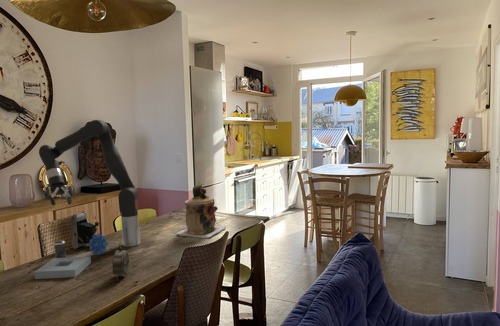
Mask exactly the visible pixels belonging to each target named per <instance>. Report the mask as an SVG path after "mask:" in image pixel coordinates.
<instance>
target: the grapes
mask: <svg viewBox="0 0 500 326" xmlns="http://www.w3.org/2000/svg"><path fill="white" fill-rule="evenodd" d="M89 243H90V244H89V250H90V251H92V252H91V253H92V255H97V256H101V255H102V254H103V253H105V252H106V251H107V247H108V244H109V242H108V241H107V236H105V235H103V234H102V233H98V234H94V235H93V237H92V239H91V240H90V242H89Z"/></svg>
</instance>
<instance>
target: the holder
mask: <svg viewBox="0 0 500 326" xmlns="http://www.w3.org/2000/svg"><path fill="white" fill-rule="evenodd" d="M91 263H92V259H91V256H73V257H72V256H71V257H66V258H56V257H54V258H52V259H50V260H49V261H48V262H46V263H45V264H44V265H42V266H40V267H39V268H38V269H36V270H35V271H34V272H33V274H34V279H35V280H42V279H63V278H64V279H65V278H76V277H77V276H78V275H79V274H80V273H81V272H83V271H84V270H85V269H86V268H87V267H89V266H90V265H91Z"/></svg>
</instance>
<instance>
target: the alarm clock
mask: <svg viewBox="0 0 500 326" xmlns="http://www.w3.org/2000/svg"><path fill="white" fill-rule="evenodd" d="M121 244H122V241H119V242H118V245H119V246H118V247H119V249H118V250H117V249H116V251H115V252H114V254H113V260H112V273H113V275H114V276H115V277H116V282H118V281H119V277H123V276H126V277H128V275H127V272H128V269H129V262H130V259H129V258H130V257H129V252H128V251H127V250H124V249H123V250H122V246H121Z"/></svg>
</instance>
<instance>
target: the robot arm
mask: <svg viewBox="0 0 500 326" xmlns="http://www.w3.org/2000/svg"><path fill="white" fill-rule="evenodd" d="M94 137H96V138H97V140H98V141H99V143H100V145H101V150H102V158H103V161H104V164H105V166H106V168H107V170H108V172H109V173H110V174H111V176H112V177H113V178H114V180H115V181H116V182H117V183H118V185H119V187H120V188H119V189H120V191H119V193H118V198H117V199H118V208H119V213H120V216H121V217H120V220H121V235H122V246H123V247H127V248H128V247H136V246H139V245H140V244H141V243H142V242H141V241H142V240H141V227H140V226H139V213H138V212H139V211H138V209H137V207H136V201H137V200H138V199H139V193H138V190H137V188H136V186H135V185H134V183H133V181H132V180H131V178H130V176H129V172H128V170H127V167H126V165H125V163H124V161H123V158H122V157H121V154H120V152H119V150H118V148H117V146H116V144H115V142H114V140H113V138H112V137H113V136H112V134H111V131H110V127H109V125H108V124H107V122H105V121H104V120H100V119H93V120H91V121H90V122H88V123H87V124H85V125H84V126H83V127H82V128H80V129H78V130H77V131H75V132H73V133H71V134H68V135H67V136H65V137H63V138H61V139H58V140H57V141H55V144H54V145H55V146H51V145H48V144H44V145H43V144H42V145H41V146H40V147H39V150H38V154H39V155H38V156H39V157H40V160H41V161H42V163H43V165H44V167H45V172H46V178H47V182H48V185H49V186H46V187H45V188H44V190H43V192H44V197H45V199H48V200H50V205H51V206H53V207H54V206H56V200H55V196H63V197H65V198H66V202H67V205H71V204H72V202H73V201H72V198H73V196H74V192H73V188H72V186H71V185H69V186H66V183H65V179H64V176H63V173H62V171H61V167H60V163H59V161H58V160H57V159H58V158H59V157H61V156H62V155H63V154H64V153H65V152H67V151H69V150H72V149H73V148H75V147H77V146H78V145H79V144H80V143H81V142H83V141H85V140H87V139H88V140H89V139H91V138H94ZM50 192H51V194H50Z"/></svg>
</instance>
